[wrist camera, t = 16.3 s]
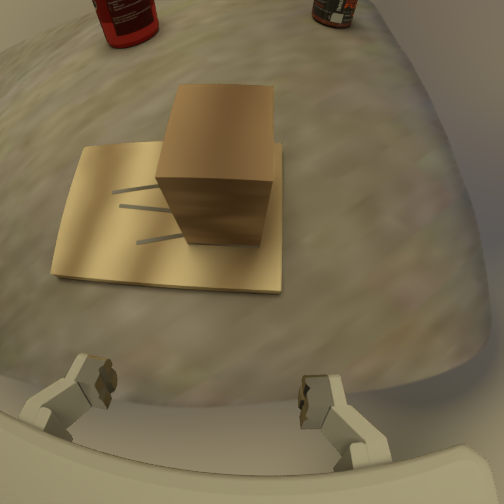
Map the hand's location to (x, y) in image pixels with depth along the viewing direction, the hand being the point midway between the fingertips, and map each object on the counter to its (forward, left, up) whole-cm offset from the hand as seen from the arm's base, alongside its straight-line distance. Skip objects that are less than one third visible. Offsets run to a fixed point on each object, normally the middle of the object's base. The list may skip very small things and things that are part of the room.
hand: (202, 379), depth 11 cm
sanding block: (0, +11, -7) cm, 13 cm away
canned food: (-16, +39, -9) cm, 43 cm away
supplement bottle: (+12, +44, -9) cm, 47 cm away
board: (-5, +11, -9) cm, 15 cm away
